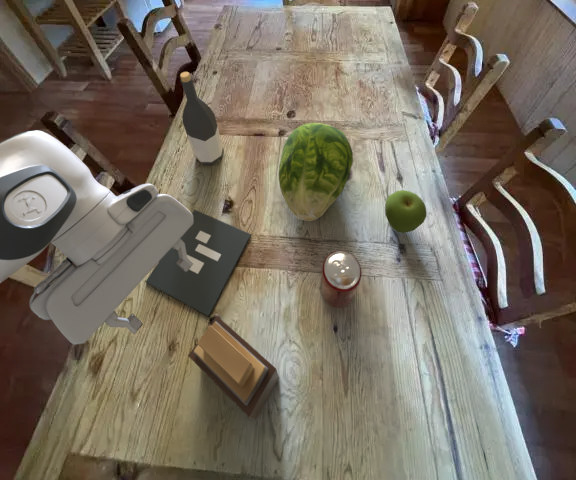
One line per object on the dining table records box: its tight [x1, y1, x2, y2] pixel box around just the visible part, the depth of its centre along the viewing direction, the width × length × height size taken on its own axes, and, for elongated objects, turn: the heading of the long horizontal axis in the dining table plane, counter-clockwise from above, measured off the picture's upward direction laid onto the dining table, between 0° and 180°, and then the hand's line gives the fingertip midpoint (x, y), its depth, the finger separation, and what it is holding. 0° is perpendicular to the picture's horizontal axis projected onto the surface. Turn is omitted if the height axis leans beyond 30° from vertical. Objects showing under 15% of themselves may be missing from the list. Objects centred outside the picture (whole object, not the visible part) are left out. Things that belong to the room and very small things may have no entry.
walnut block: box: [187, 315, 280, 422], centre depth 58 cm, size 7×13×11 cm, turn 55°
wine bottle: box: [179, 71, 224, 166], centre depth 87 cm, size 8×8×30 cm
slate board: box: [145, 209, 252, 318], centre depth 76 cm, size 18×16×1 cm
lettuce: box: [278, 122, 354, 222], centre depth 83 cm, size 18×23×19 cm
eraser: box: [193, 321, 268, 406], centre depth 52 cm, size 5×11×8 cm, turn 55°
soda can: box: [319, 249, 363, 309], centre depth 67 cm, size 7×7×12 cm
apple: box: [384, 189, 427, 234], centre depth 77 cm, size 9×8×12 cm
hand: (164, 296), depth 50 cm, fingers open, 8 cm apart
